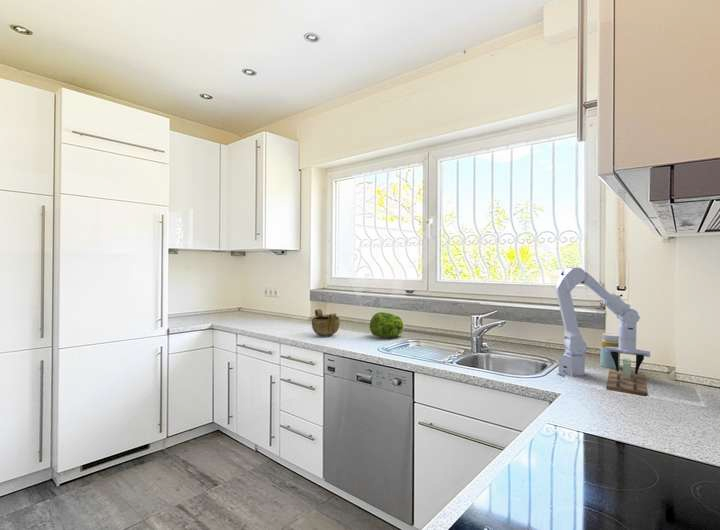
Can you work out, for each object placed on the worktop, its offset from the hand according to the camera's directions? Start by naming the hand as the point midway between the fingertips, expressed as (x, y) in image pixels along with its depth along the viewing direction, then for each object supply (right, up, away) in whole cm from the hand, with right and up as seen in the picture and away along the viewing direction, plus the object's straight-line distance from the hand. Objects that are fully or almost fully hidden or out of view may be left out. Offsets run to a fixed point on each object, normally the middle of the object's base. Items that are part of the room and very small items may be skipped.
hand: (626, 372), depth 152 cm
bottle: (+2, -3, +13) cm, 14 cm away
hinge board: (-4, -3, -6) cm, 7 cm away
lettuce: (-89, -1, +78) cm, 118 cm away
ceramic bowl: (-127, -1, +82) cm, 151 cm away
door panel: (0, -1, 0) cm, 1 cm away
